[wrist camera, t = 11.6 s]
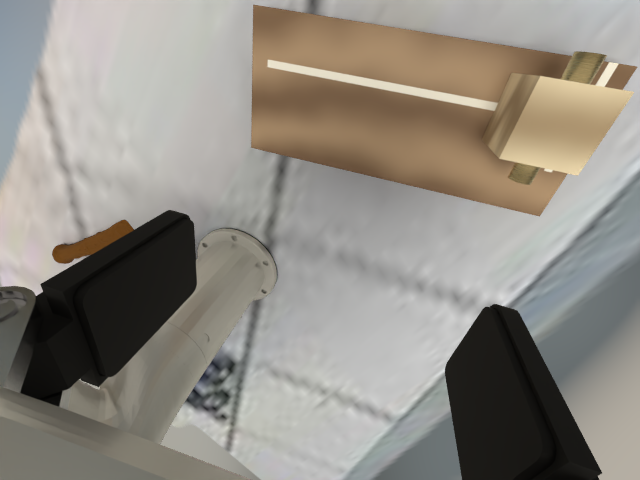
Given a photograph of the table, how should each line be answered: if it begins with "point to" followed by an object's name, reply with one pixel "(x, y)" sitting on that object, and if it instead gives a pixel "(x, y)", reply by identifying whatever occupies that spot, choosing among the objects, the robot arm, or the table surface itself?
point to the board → (396, 103)
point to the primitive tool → (91, 243)
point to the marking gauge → (553, 119)
